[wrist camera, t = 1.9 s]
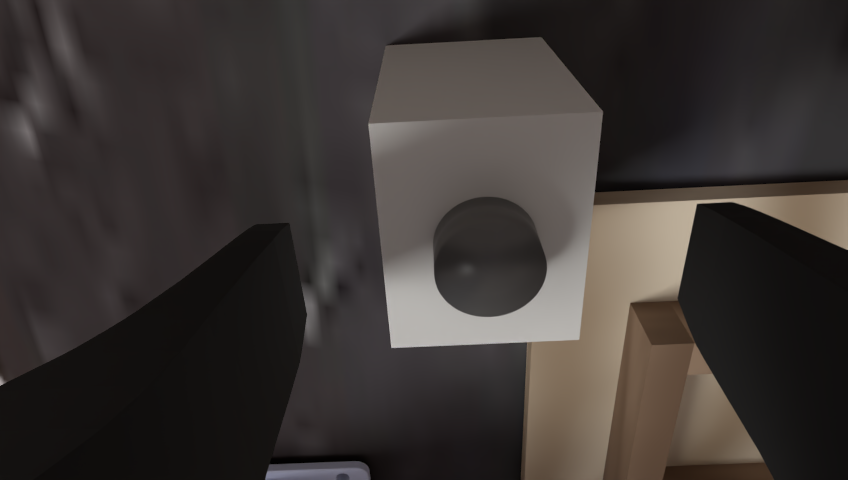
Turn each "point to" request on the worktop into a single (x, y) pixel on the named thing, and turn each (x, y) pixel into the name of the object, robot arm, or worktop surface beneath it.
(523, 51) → the plug
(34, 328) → the worktop surface
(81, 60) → the worktop surface
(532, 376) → the socket dock
